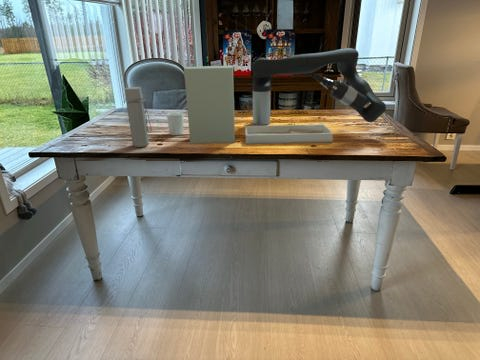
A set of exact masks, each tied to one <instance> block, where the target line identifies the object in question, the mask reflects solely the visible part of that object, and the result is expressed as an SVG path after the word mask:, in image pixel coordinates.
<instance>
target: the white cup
mask: <svg viewBox="0 0 480 360" xmlns="http://www.w3.org/2000/svg"><path fill="white" fill-rule="evenodd" d="M166 119H167V125H168V132H169V134H170V135H171V136H180V135H183V134H184V112H182V111H172V112H171V111H169V112H168V113H166Z"/></svg>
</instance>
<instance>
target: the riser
mask: <svg viewBox="0 0 480 360" xmlns="http://www.w3.org/2000/svg"><path fill="white" fill-rule="evenodd" d="M183 74H184V88H185V97H186V108H187V109H186V110H187V122H188V133H189V143H190V144H218V143H219V144H220V143H221V144H223V143H236V142H235V141H236V139H235V138H236V127H235V126H236V125H235V95H234V93H235V91H234V66H233V65H208V66H207V65H205V66H204V65H203V66H202V65H201V66H187V67H184V68H183Z"/></svg>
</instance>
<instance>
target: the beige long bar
mask: <svg viewBox="0 0 480 360" xmlns="http://www.w3.org/2000/svg"><path fill="white" fill-rule="evenodd" d="M310 133H323V129H289V130H272V131H257V135H263V134H310Z"/></svg>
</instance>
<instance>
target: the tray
mask: <svg viewBox="0 0 480 360" xmlns="http://www.w3.org/2000/svg"><path fill="white" fill-rule="evenodd" d="M244 127H245V129H244V132H245V133H244V136H245V145H268V144H270V145H271V144H272V145H274V144H312V143H313V144H315V143H316V144H318V143H333V136H334V133H333V132H332V131H331V130H330V129H329V127H328V126H326V124H287V125H285V124H284V125H283V124H282V125H276V124H275V125H245V126H244ZM289 129H323V133H310V134H263V135H257V131H272V130H289Z"/></svg>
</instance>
